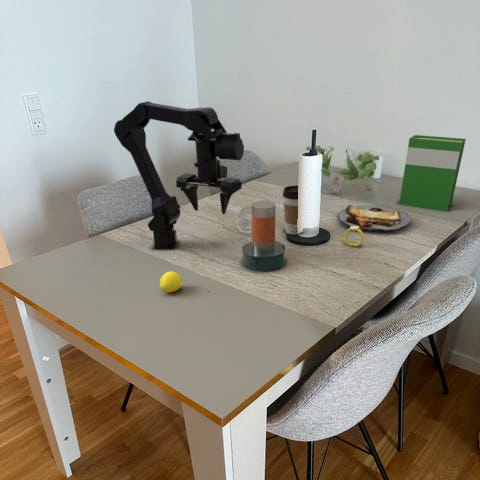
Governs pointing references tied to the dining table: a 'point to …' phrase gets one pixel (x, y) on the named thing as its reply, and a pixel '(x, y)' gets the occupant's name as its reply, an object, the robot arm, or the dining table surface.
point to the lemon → (171, 281)
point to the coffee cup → (291, 209)
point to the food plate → (374, 217)
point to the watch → (354, 228)
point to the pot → (263, 258)
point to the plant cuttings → (349, 166)
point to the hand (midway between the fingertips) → (210, 212)
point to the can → (263, 226)
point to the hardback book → (431, 171)
